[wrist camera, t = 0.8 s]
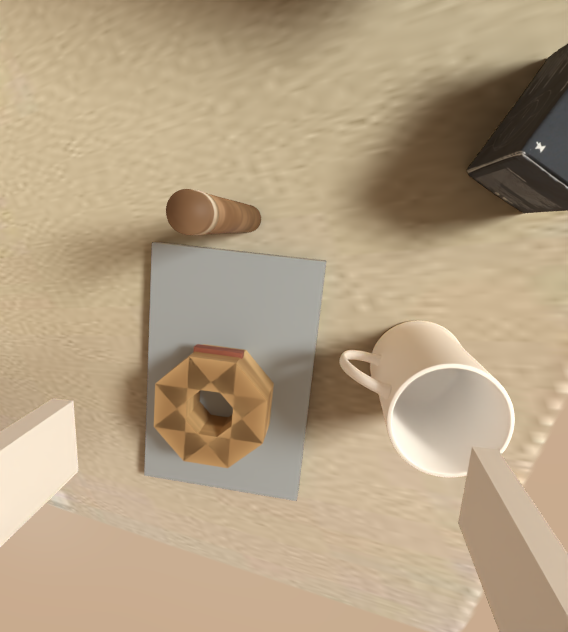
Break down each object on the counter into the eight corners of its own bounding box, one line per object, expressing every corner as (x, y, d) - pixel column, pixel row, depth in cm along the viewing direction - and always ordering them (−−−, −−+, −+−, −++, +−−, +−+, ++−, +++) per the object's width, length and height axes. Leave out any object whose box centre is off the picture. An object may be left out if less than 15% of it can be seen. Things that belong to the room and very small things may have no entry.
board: (157, 242, 40) (151, 242, 39) (326, 260, 38) (325, 261, 37) (149, 469, 45) (144, 475, 44) (297, 493, 43) (296, 501, 42)
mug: (323, 368, 40) (317, 426, 29) (363, 289, 38) (375, 315, 27) (435, 422, 40) (475, 502, 28) (482, 344, 38) (546, 396, 26)
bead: (174, 335, 40) (156, 347, 36) (277, 349, 39) (270, 363, 35) (169, 438, 43) (152, 460, 39) (266, 454, 42) (259, 477, 38)
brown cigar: (235, 203, 38) (166, 185, 23) (262, 205, 38) (211, 190, 22) (233, 231, 39) (164, 233, 23) (260, 234, 38) (208, 237, 23)
